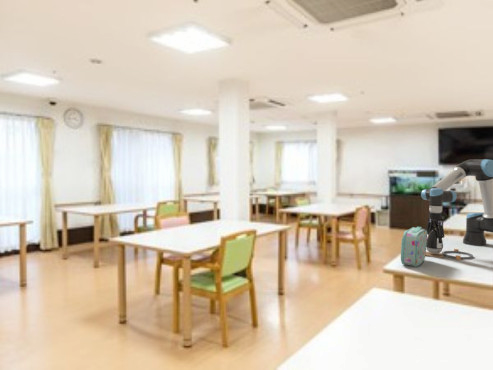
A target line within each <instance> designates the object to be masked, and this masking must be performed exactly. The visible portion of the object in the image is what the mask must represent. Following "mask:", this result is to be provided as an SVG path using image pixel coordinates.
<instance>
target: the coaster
mask: <svg viewBox="0 0 493 370" xmlns="http://www.w3.org/2000/svg"><path fill="white" fill-rule="evenodd" d="M425 257H431V258H437V259H438V258H439V259H444V258H445V256H444V255H443V254H442V252H440V253H430V252H429V251H426V255H425Z"/></svg>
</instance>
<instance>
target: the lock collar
mask: <svg viewBox="0 0 493 370" xmlns="http://www.w3.org/2000/svg"><path fill="white" fill-rule="evenodd" d="M441 253H442V254H443V255H444V258H445V257H446V258H449V259H455V260H458V261H460V260H472V259H474V255H473V254H472V253H469V252H465V251H460V249H458V248H454V249H453V250H442V251H441ZM450 254H457V255H450ZM459 254H462V255H466V256H462V255H459Z"/></svg>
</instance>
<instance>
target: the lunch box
mask: <svg viewBox="0 0 493 370" xmlns="http://www.w3.org/2000/svg"><path fill="white" fill-rule="evenodd" d="M427 237H428V234H427V230H426V229H425V228H422V226H416V227H414V226H412V227H411V228H409V229H407V230H404V232H403V236H402V238H401V243H400V244H401V246H400V261H401V264H402V265H405V266H411V267H415V268H416V267H418V266H420V265H422V264H423V262H424V261H425V258H426V256H425V255H426V252H427V248H426V244H427Z"/></svg>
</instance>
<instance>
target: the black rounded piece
mask: <svg viewBox="0 0 493 370" xmlns="http://www.w3.org/2000/svg"><path fill="white" fill-rule="evenodd" d="M437 237H438V235H437V231H436V228H434V230H431V231H430V233H429V235H428V234H427V244H426V251H427V252H430V253H442V252H443V249H444V243H443V240H442V248H437Z"/></svg>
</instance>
